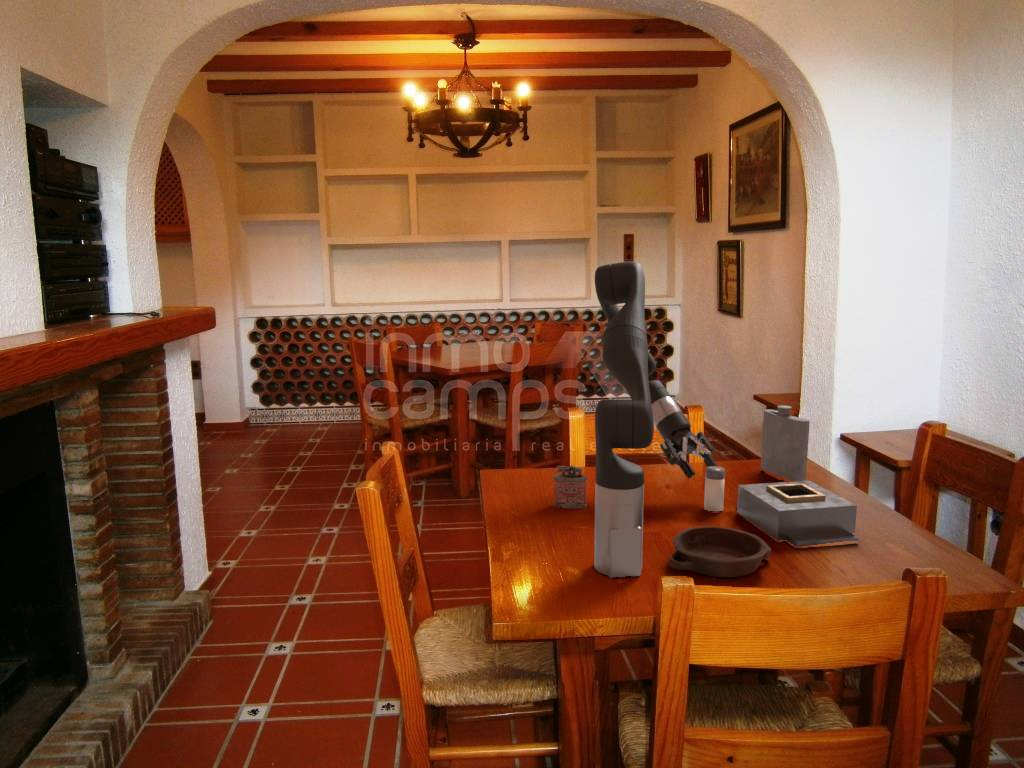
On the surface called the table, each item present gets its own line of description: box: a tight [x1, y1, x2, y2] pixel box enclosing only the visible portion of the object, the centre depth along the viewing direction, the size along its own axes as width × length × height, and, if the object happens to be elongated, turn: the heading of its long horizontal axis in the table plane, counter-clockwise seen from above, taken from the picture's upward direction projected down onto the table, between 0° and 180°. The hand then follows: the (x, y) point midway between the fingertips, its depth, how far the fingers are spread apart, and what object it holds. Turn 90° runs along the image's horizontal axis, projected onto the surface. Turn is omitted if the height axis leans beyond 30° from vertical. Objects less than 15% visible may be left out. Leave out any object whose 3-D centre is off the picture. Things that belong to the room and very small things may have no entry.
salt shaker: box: [703, 465, 726, 513], centre depth 175 cm, size 4×4×10 cm
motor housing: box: [736, 480, 859, 547], centre depth 165 cm, size 26×18×8 cm
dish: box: [669, 525, 772, 578], centre depth 144 cm, size 18×22×5 cm
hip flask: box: [760, 405, 811, 482], centre depth 199 cm, size 16×4×20 cm, turn 21°
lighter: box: [553, 464, 588, 509], centre depth 178 cm, size 8×3×10 cm, turn 84°
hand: (703, 473), depth 177 cm, fingers open, 8 cm apart
